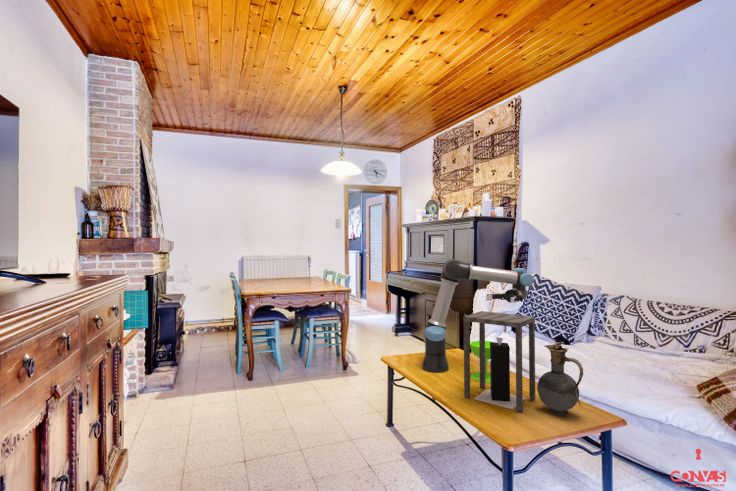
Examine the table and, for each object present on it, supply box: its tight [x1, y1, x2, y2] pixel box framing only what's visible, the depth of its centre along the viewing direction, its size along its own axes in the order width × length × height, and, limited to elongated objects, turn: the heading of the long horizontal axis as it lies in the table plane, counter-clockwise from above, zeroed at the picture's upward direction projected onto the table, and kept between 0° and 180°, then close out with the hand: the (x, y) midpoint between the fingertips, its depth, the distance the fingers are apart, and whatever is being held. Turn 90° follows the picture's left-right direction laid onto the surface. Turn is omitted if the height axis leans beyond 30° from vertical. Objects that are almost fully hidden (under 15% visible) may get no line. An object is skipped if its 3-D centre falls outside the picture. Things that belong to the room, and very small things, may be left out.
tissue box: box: [489, 336, 511, 401], centre depth 180 cm, size 8×8×28 cm
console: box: [462, 310, 536, 414], centre depth 180 cm, size 26×20×38 cm
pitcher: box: [536, 341, 584, 417], centre depth 164 cm, size 11×19×30 cm, turn 27°
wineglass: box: [470, 340, 492, 384], centre depth 210 cm, size 16×16×18 cm
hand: (498, 299), depth 211 cm, fingers open, 13 cm apart
